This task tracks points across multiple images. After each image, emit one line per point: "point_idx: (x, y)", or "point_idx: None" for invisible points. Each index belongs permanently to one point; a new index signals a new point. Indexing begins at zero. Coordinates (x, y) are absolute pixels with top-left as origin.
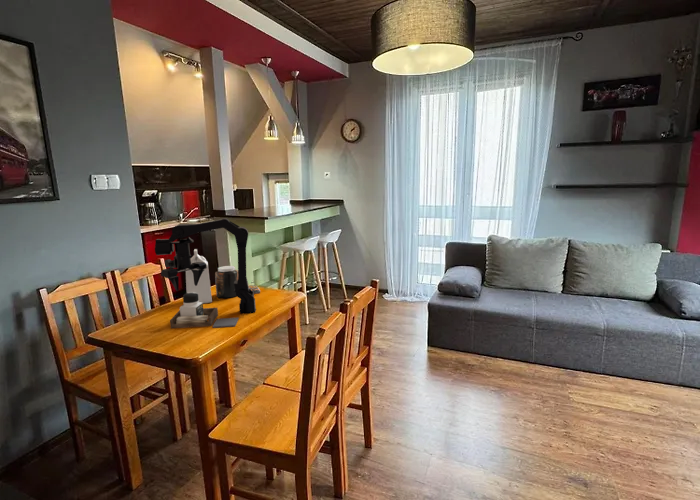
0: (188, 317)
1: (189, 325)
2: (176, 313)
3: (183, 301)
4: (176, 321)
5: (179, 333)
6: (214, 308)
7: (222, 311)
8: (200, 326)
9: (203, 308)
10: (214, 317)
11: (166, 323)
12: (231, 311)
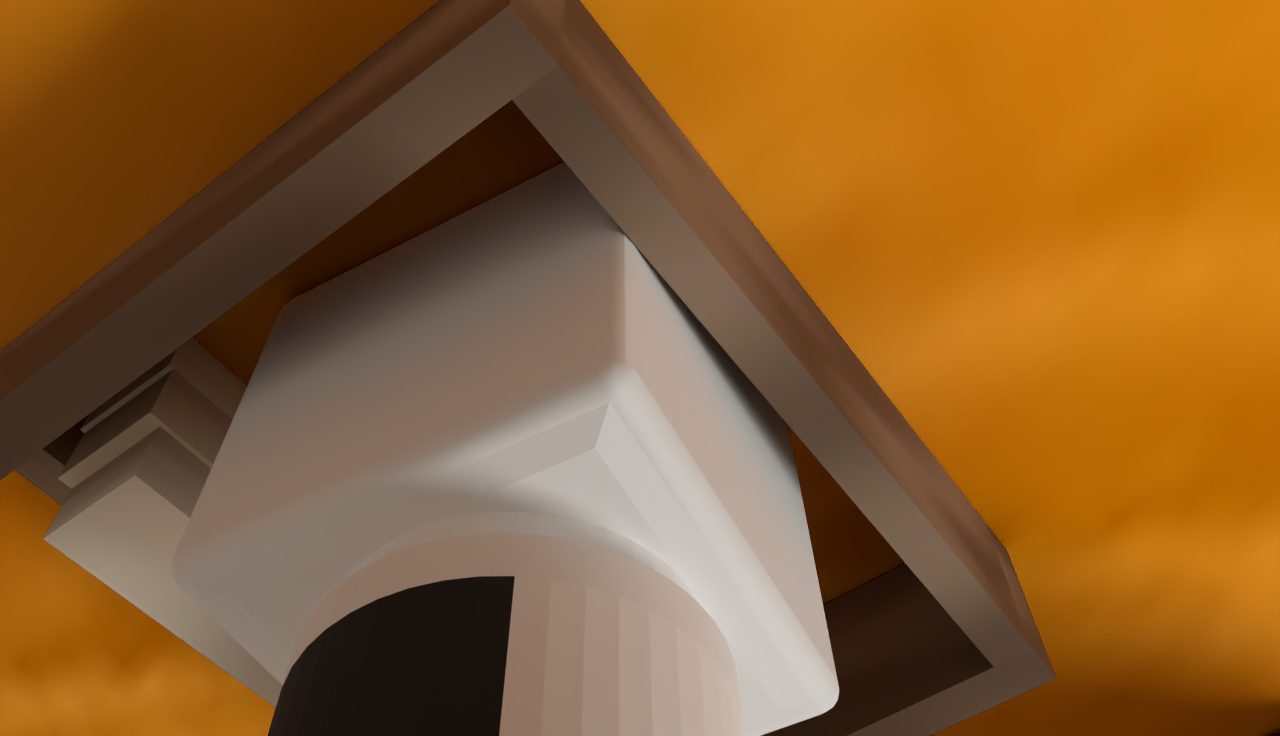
0: (264, 671)
1: None
2: (235, 220)
3: (279, 699)
4: (66, 478)
5: (4, 655)
6: (991, 658)
7: (1239, 474)
8: None
9: (889, 489)
10: None
11: (28, 7)
12: (1276, 605)
